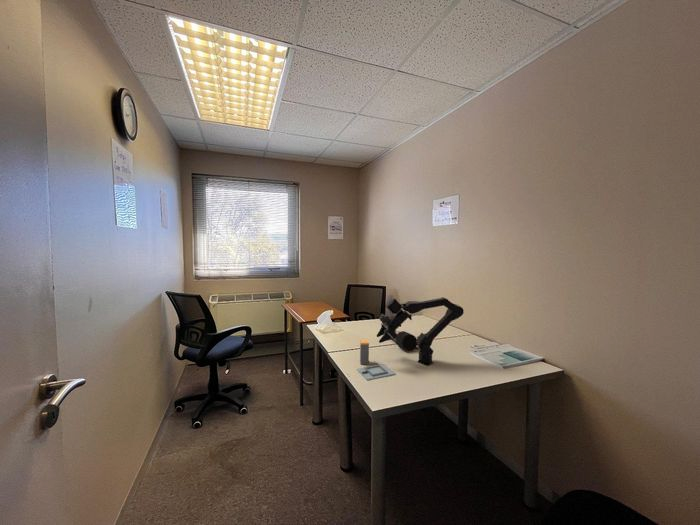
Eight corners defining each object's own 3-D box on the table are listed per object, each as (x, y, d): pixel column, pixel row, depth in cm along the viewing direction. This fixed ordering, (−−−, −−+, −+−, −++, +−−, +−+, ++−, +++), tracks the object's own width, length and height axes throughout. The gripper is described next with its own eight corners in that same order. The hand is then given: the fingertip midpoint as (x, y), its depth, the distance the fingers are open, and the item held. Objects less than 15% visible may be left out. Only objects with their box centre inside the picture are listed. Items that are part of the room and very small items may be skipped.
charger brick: (367, 361, 154) (368, 340, 153) (368, 364, 150) (368, 343, 149) (360, 361, 154) (360, 340, 153) (360, 364, 149) (360, 343, 149)
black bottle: (391, 341, 200) (396, 328, 202) (413, 353, 167) (419, 338, 169) (379, 335, 198) (385, 322, 200) (399, 347, 165) (406, 331, 167)
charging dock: (383, 364, 149) (383, 362, 149) (395, 374, 138) (395, 371, 138) (356, 369, 143) (356, 366, 143) (367, 380, 132) (367, 377, 132)
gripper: (385, 305, 160) (366, 324, 160) (391, 313, 141) (369, 334, 141) (398, 319, 160) (379, 337, 161) (406, 328, 142) (384, 349, 142)
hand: (378, 339), depth 151 cm, fingers open, 9 cm apart
